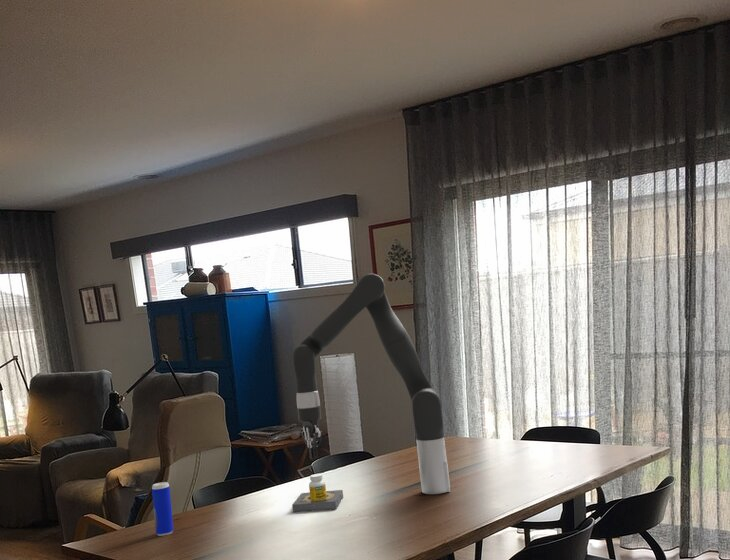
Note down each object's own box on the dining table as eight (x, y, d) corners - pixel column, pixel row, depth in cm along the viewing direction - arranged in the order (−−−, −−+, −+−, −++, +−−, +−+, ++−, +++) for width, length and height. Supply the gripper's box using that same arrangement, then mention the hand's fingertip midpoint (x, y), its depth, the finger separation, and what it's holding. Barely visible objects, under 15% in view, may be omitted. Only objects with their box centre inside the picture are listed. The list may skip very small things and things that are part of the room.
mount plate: (343, 497, 232) (342, 489, 233) (336, 509, 218) (335, 501, 219) (302, 500, 234) (301, 493, 234) (292, 512, 220) (292, 504, 220)
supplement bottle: (322, 501, 230) (319, 472, 230) (330, 504, 225) (327, 474, 226) (308, 505, 227) (305, 475, 227) (316, 508, 222) (313, 478, 223)
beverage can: (158, 532, 215) (153, 483, 216) (175, 529, 215) (170, 480, 216) (154, 537, 210) (149, 486, 210) (171, 534, 210) (167, 484, 211)
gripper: (327, 404, 224) (333, 459, 223) (310, 402, 236) (315, 454, 235) (306, 408, 220) (312, 463, 219) (289, 406, 232) (295, 458, 231)
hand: (314, 458), depth 227 cm, fingers closed
